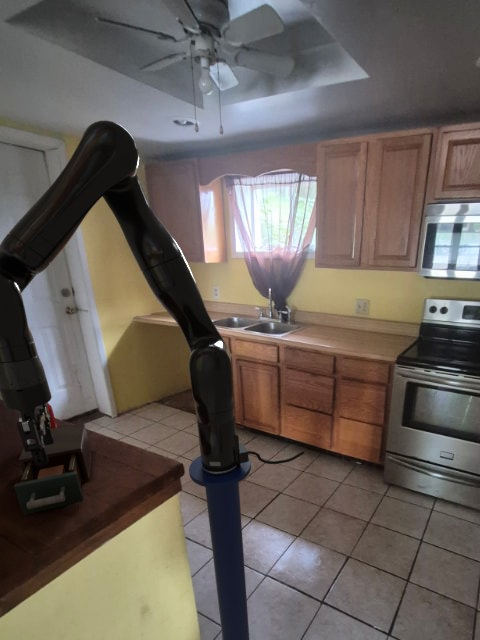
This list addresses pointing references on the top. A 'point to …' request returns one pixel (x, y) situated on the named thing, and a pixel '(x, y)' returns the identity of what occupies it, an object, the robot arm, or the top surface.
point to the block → (51, 471)
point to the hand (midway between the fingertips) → (45, 453)
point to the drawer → (50, 485)
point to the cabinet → (66, 447)
